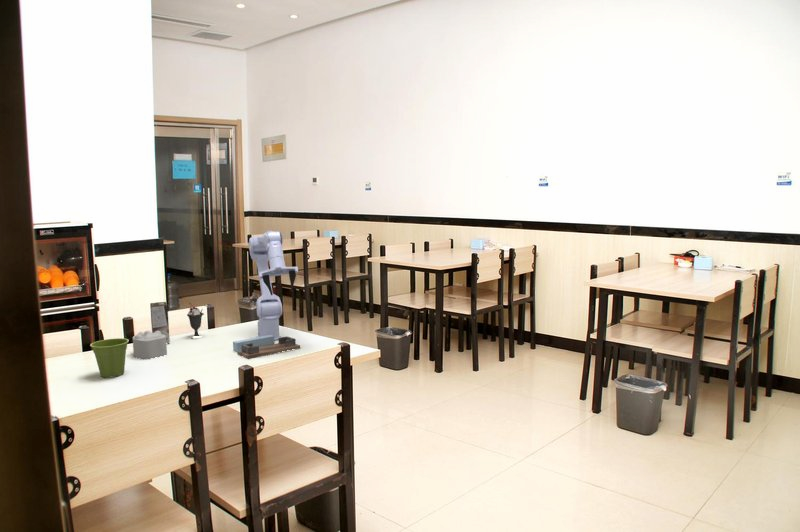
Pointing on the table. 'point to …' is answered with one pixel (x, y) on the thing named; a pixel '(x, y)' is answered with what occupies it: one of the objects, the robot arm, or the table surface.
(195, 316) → the sundae
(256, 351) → the board
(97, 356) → the plant pot
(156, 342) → the lumpy-topped squat cylinder
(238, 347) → the slat
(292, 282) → the robot arm
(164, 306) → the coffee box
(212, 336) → the table surface
